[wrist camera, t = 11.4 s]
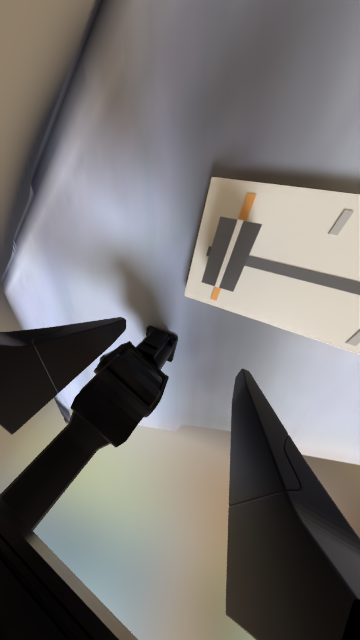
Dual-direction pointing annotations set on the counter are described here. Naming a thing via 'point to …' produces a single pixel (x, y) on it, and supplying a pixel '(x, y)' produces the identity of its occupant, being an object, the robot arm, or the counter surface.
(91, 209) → the counter surface
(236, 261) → the block
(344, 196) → the panel
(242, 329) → the counter surface
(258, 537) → the robot arm
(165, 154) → the counter surface
